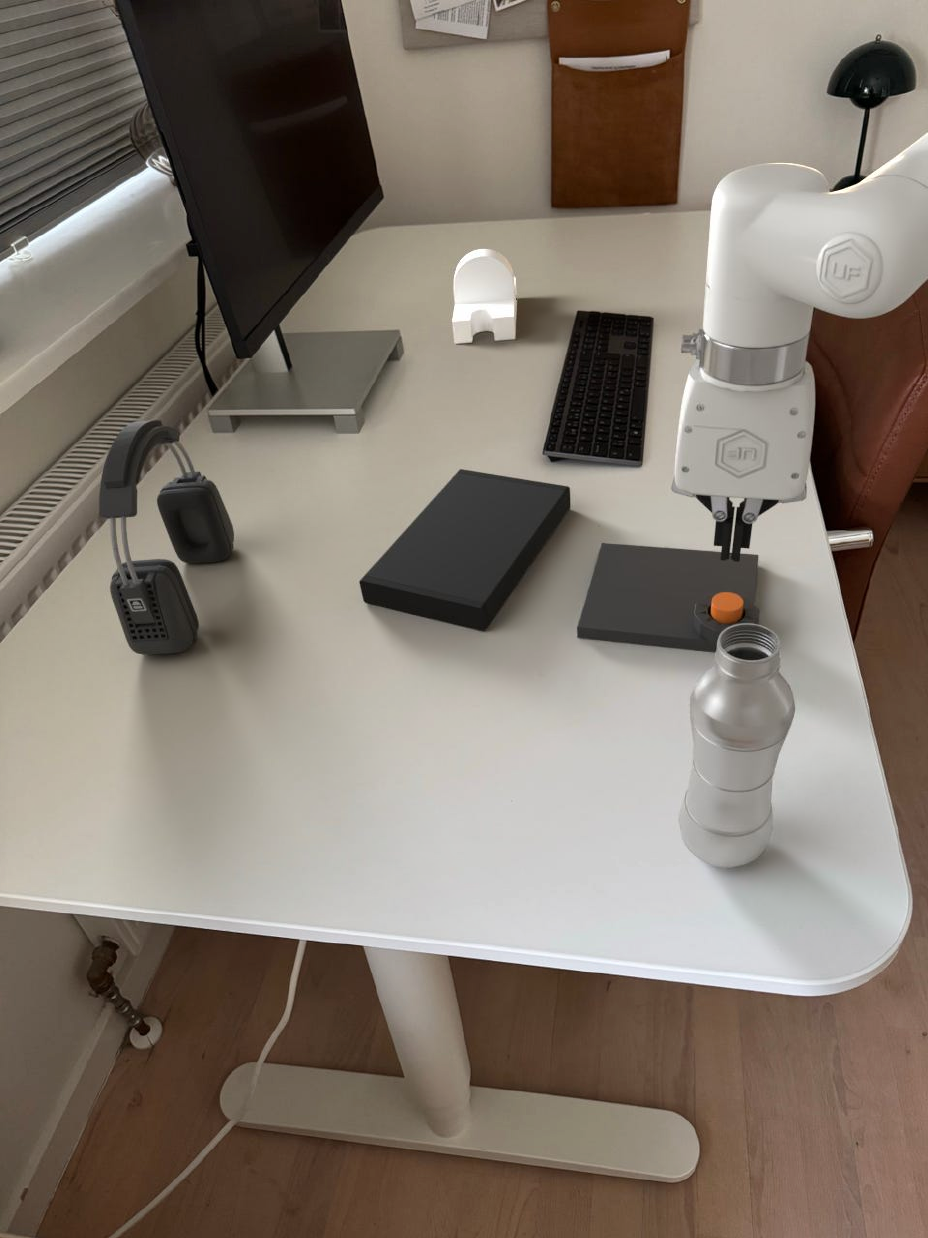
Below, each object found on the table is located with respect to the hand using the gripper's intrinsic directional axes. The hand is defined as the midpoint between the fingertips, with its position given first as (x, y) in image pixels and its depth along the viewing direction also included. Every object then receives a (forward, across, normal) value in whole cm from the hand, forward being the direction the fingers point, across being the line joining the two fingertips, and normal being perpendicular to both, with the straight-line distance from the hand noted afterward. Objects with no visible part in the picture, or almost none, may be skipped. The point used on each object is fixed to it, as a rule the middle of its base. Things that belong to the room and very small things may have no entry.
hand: (730, 551), depth 78 cm
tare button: (+7, 0, 0) cm, 7 cm away
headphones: (+10, -56, -3) cm, 57 cm away
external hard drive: (+10, -27, +9) cm, 31 cm away
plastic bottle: (+10, +2, -24) cm, 26 cm away
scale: (+10, -5, +4) cm, 12 cm away
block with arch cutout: (+10, -43, +74) cm, 87 cm away
